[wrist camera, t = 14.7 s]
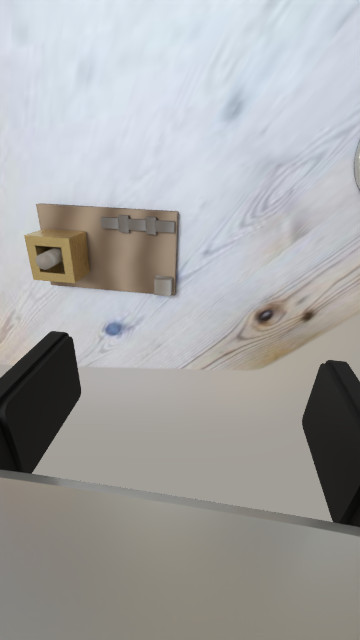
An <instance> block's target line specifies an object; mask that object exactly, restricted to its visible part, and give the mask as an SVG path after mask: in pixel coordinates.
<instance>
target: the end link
mask: <svg viewBox="0 0 360 640" xmlns="http://www.w3.org/2000/svg"><path fill="white" fill-rule="evenodd" d="M24 237H25V241H26V246H27V251H28V255H29V260H30V265H31V269H32V274H33V279H34V280H43V281H55V282H66V283H76V282H77V281H79V280H80V279H81V278H83V277H84V276H85V275H87V274H88V273H89V272H90V267H89V258H88V249H87V240H86V232H85V231H73V230H59V229H43V230H39V231H36V232H33V233H30V234H27V235H24ZM55 247H61V250H62V256H63V262H60V263H58V264H56V265H54V266H53V267H51V268H49V269H47V270H43V269H41V268H39V267H38V265H37V264H36V257H37V256H38V255H39V254H42V253H44V252H46V251H48V250H51V249H53V248H55Z"/></svg>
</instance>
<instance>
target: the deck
mask: <svg viewBox="0 0 360 640" xmlns="http://www.w3.org/2000/svg"><path fill="white" fill-rule="evenodd" d="M36 207H37V212H38V217H39V223H40V228H41V230H43V229H59V230H73V231H85V232H86V240H87V249H88V258H89V267H90V272H89V273H88V274H87V275H85V276H84V277H83V278H81V279H80V280H79V281H77V282H76V283H66V282H55V281H50V282H51V285H60V286H72V287H83V288H95V289H106V290H118V291H129V292H140V293H152V294H154V295H162V296H171V295H175V288H176V258H177V228H178V211H162V210H145V209H127V208H110V207H93V206H75V205H58V204H36ZM60 262H63V256H62V250H61V247H55V248H53V249H51V250H48V251H46V252H44V253H42V254H39V255H38V256H37V257H36V264H37V265H38V267H39V268H41V269H43V270H47V269H49V268H51V267H53V266H54V265H56V264H58V263H60Z"/></svg>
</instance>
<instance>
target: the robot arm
mask: <svg viewBox="0 0 360 640" xmlns="http://www.w3.org/2000/svg"><path fill="white" fill-rule="evenodd" d="M354 170H355V178H356V182H357V185H358V187H359V189H360V141H359V144H358V147H357V150H356V155H355V162H354ZM80 395H81V386H80V381H79V374H78V368H77V362H76V356H75V349H74V343H73V339H72V337H69V335H68V333H65V332H56V331H51V332H50V333H48V334H47V335H46V336H45V337H44V338H43V339H42V340H41V341H40V342H39V343H38V344H37V345H36V346H34V347H33V348H32V349H31V350H30V351H29V352H28V353H27V354H26V355H25V356H24V357H23V358H21V359H20V360H19V361H18V362H17V363H16V364H15V365H14V366H13V367H12V368H11V369H10V370H9V371H7V372H6V373H5V374H4V375H3V376H2V377H1V378H0V640H360V382H359V380H358V378H357V377H356V375H355V374H354V372H353V371H352V369H351V368H350V366H349V365H348V364H347V362H343V361H333V360H328V361H327V362H326V363H325V364H321V365H320V367H319V370H318V374H317V376H316V379H315V383H314V385H313V388H312V391H311V394H310V397H309V400H308V403H307V406H306V409H305V412H304V415H303V419H302V425H303V429H304V433H305V436H306V439H307V442H308V445H309V448H310V452H311V454H312V458H313V461H314V464H315V467H316V470H317V474H318V477H319V480H320V483H321V486H322V489H323V492H324V496H325V499H326V502H327V505H328V508H329V512H330V515H331V518H332V520H333V522H328V521H322V520H317V519H312V518H306V517H300V516H295V515H289V514H283V513H276V512H270V511H264V510H258V509H252V508H246V507H240V506H233V505H228V504H221V503H216V502H210V501H202V500H197V499H191V498H184V497H178V496H172V495H165V494H159V493H152V492H147V491H140V490H133V489H128V488H121V487H115V486H108V485H101V484H95V483H89V482H81V481H76V480H69V479H62V478H55V477H48V476H42V475H36V474H31V473H32V472H33V471H34V469H35V468H36V466H37V464H38V463H39V461H40V460H41V458H42V456H43V455H44V453H45V452H46V450H47V449H48V447H49V445H50V444H51V442H52V441H53V439H54V438H55V436H56V434H57V433H58V431H59V430H60V428H61V426H62V425H63V423H64V422H65V420H66V418H67V417H68V415H69V414H70V412H71V411H72V409H73V407H74V406H75V404H76V403H77V401H78V400H79V398H80Z"/></svg>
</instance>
